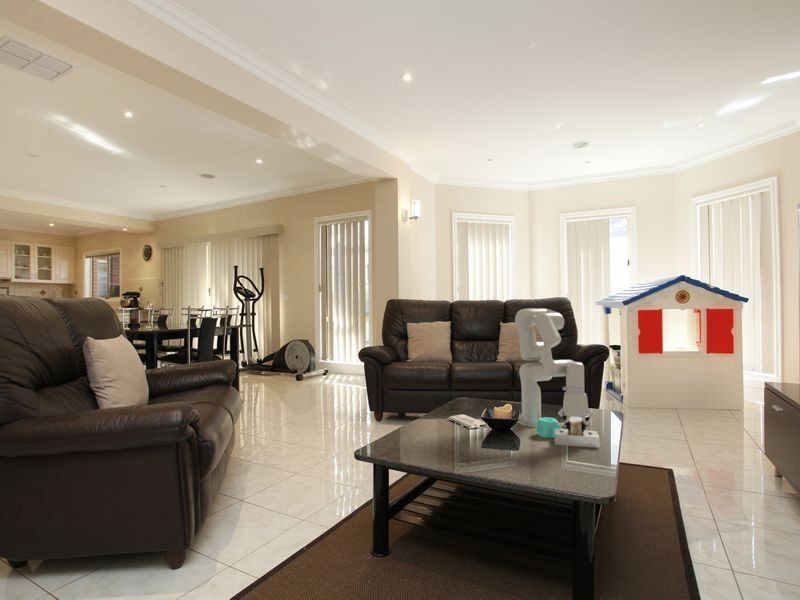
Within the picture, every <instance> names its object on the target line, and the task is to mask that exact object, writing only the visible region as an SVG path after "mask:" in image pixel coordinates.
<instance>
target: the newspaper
mask: <svg viewBox="0 0 800 600" xmlns="http://www.w3.org/2000/svg"><path fill="white" fill-rule="evenodd" d="M448 419H451V420H453V421H455V422H457V423H459V424H462V425H464V426H466V427H465V428H467V427H468V428H467V429H469V428H471V427H472V426H477V425H480V427H486V428H487V427H488V426H487V425H488V423H485V422H484V421H480V420H479V419H475V418H473V417H472V416H469V415H466V414H457V415H451V416H449V417H448Z"/></svg>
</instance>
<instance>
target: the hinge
mask: <svg viewBox="0 0 800 600" xmlns="http://www.w3.org/2000/svg"><path fill="white" fill-rule="evenodd" d="M588 415H589V414H588ZM585 418H586V417H585ZM570 420H573V421H580V422H582V418H581V417H572V416H570V419H569V421H570ZM563 423H564V424H563V425H564V427H565V428H566V421H565V420H564V421H563ZM589 424H590V419H589V420H588V421H587V422H586V423H585V426H587V425H589Z"/></svg>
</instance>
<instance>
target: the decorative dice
mask: <svg viewBox="0 0 800 600" xmlns="http://www.w3.org/2000/svg"><path fill="white" fill-rule="evenodd" d="M554 428H558V429H561V425H560V423H559V421H558V420H557V419H556V418H553V417H544V416H543V417H541V418H540V419H539V420H538V421H537V423H536V427H535V429H536V430H535V431H536V433H537V435H538V436H539V437H541V438H546V439H554Z"/></svg>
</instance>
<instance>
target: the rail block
mask: <svg viewBox="0 0 800 600" xmlns="http://www.w3.org/2000/svg"><path fill="white" fill-rule="evenodd" d="M553 440H554V445H555V446H568V447H570V446H572V447H584V448H593V449H595V448H596V449H600V448H601V443H600V436H599V433H598V431H596V430H587V429H585V430H584V432H582V431H581V435H575V434H570V431H568V429H567V428H560V429H558V428H554V438H553Z"/></svg>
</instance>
